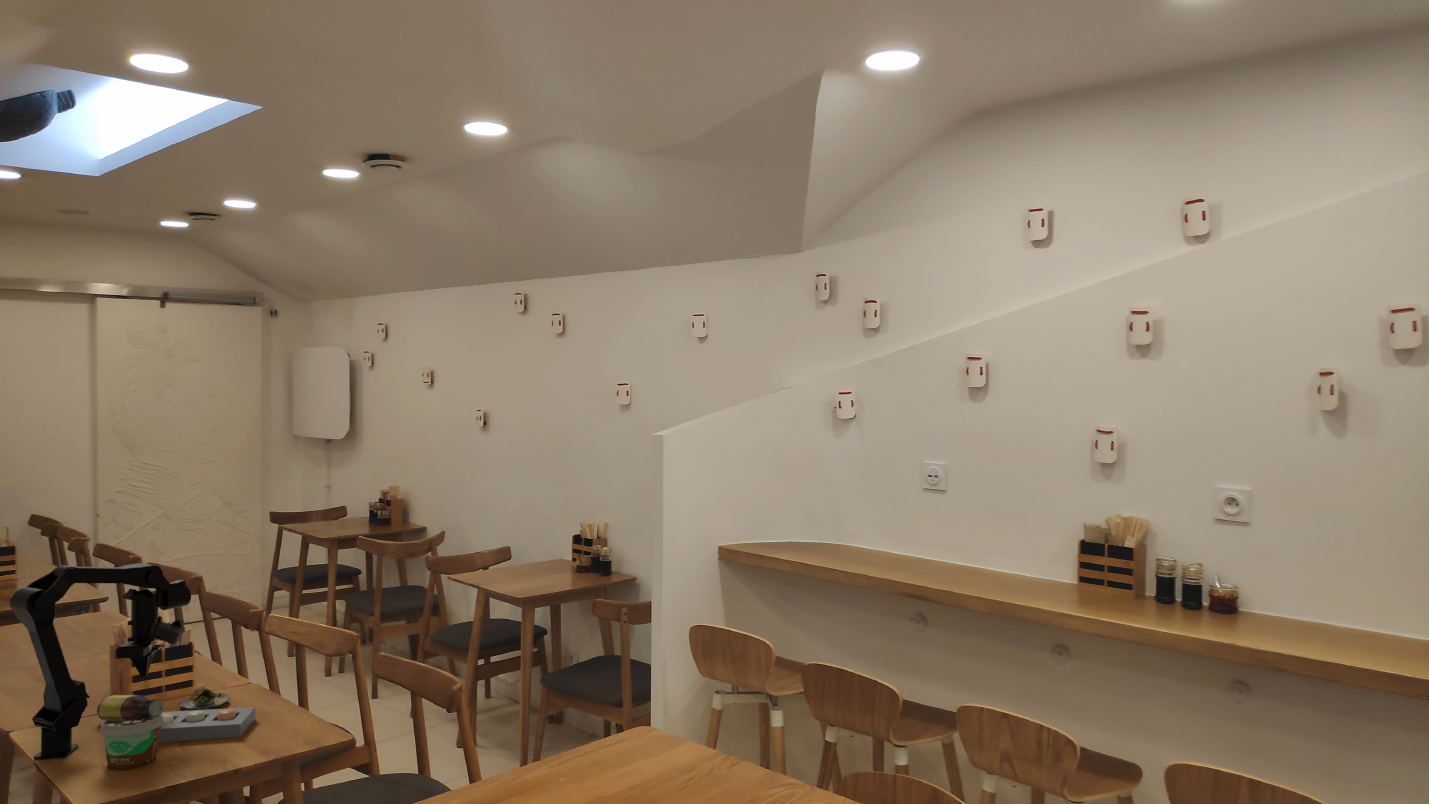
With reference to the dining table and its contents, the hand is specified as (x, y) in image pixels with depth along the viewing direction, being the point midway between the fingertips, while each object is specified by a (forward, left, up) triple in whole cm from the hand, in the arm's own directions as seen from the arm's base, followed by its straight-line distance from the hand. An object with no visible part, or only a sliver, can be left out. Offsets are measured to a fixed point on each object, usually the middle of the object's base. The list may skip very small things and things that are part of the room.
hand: (144, 676), depth 222 cm
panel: (-7, -14, -12) cm, 20 cm away
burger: (+12, -10, -12) cm, 20 cm away
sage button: (-7, -14, -11) cm, 19 cm away
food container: (-27, -7, -12) cm, 30 cm away
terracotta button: (-7, -21, -11) cm, 25 cm away
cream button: (-7, -7, -11) cm, 15 cm away
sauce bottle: (+5, +10, -9) cm, 15 cm away
